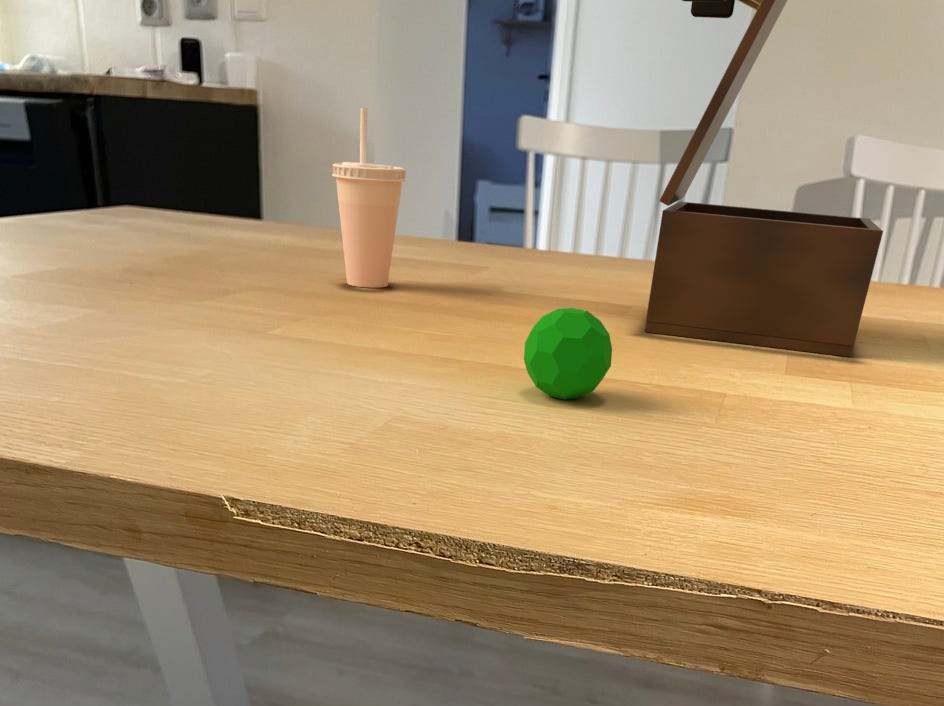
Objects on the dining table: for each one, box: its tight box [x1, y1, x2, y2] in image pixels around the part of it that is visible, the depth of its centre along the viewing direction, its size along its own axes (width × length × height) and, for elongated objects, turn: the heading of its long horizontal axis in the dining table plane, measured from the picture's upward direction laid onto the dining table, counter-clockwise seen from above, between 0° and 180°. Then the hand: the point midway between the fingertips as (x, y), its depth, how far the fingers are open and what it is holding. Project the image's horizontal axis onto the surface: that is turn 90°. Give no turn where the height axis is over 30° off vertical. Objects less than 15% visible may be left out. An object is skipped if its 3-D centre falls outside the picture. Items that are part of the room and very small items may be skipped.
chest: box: [644, 200, 884, 358], centre depth 76 cm, size 16×13×9 cm
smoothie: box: [331, 107, 407, 289], centre depth 83 cm, size 6×6×14 cm
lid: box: [659, 0, 788, 207], centre depth 71 cm, size 16×13×5 cm
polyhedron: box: [523, 307, 613, 400], centre depth 54 cm, size 5×5×5 cm
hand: (706, 9), depth 69 cm, fingers open, 9 cm apart
